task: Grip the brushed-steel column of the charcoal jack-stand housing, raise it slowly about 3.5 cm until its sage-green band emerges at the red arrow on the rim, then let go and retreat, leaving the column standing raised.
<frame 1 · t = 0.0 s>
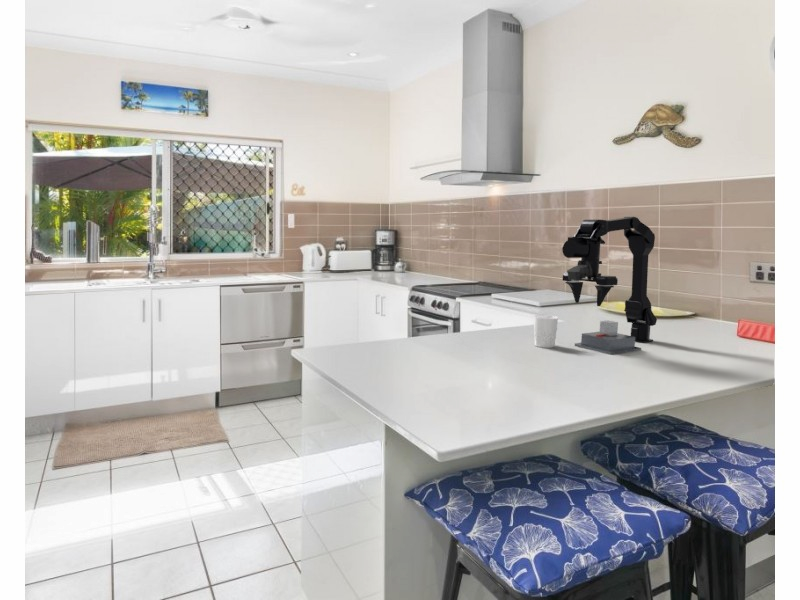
hand: (587, 304, 189), 15 cm above the table, fingers open, 9 cm apart
column: (608, 333, 190), point 5 cm above the table, slide at 0.0 cm
white cup: (544, 346, 192), on the table
housing: (607, 348, 190), on the table
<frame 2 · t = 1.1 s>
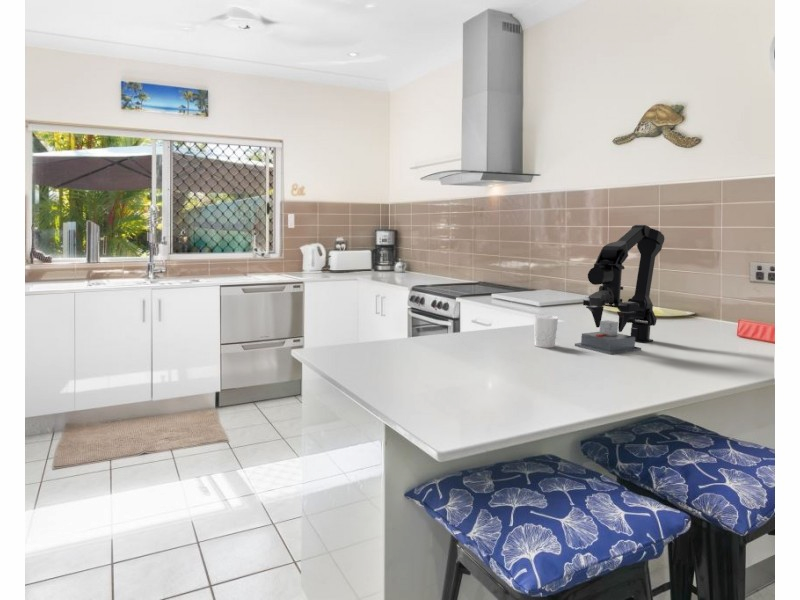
hand: (608, 329, 190), 6 cm above the table, fingers open, 9 cm apart
nothing on the table moved.
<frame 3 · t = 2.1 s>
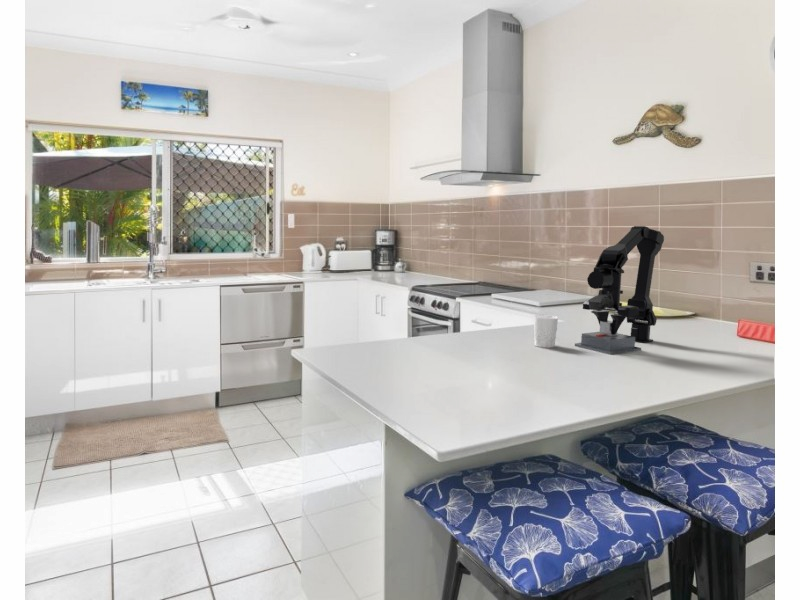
hand: (608, 333, 190), 5 cm above the table, fingers closed on column, 4 cm apart
column: (608, 333, 190), point 5 cm above the table, slide at 0.0 cm, touching gripper
everything else where it was.
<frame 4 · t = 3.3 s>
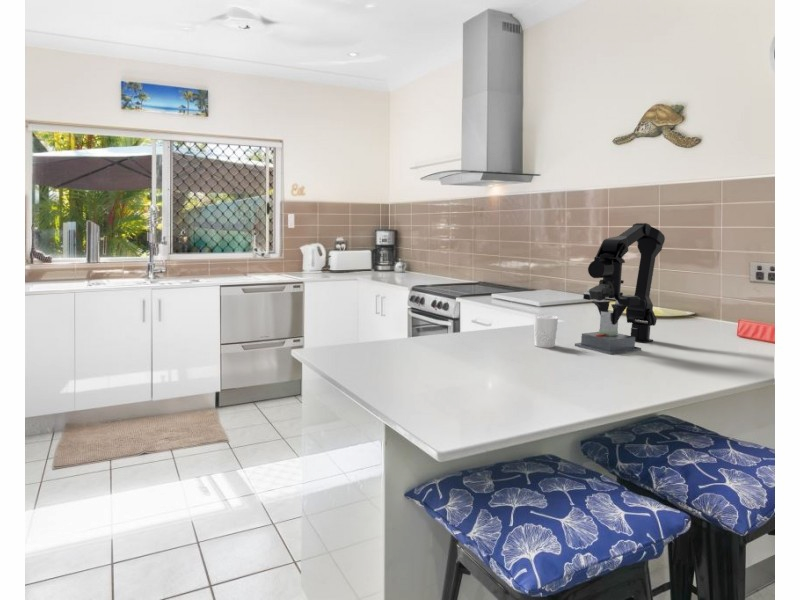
hand: (609, 323, 189), 8 cm above the table, fingers closed on column, 4 cm apart
column: (609, 323, 189), point 8 cm above the table, slide at 3.4 cm, touching gripper
everything else where it was.
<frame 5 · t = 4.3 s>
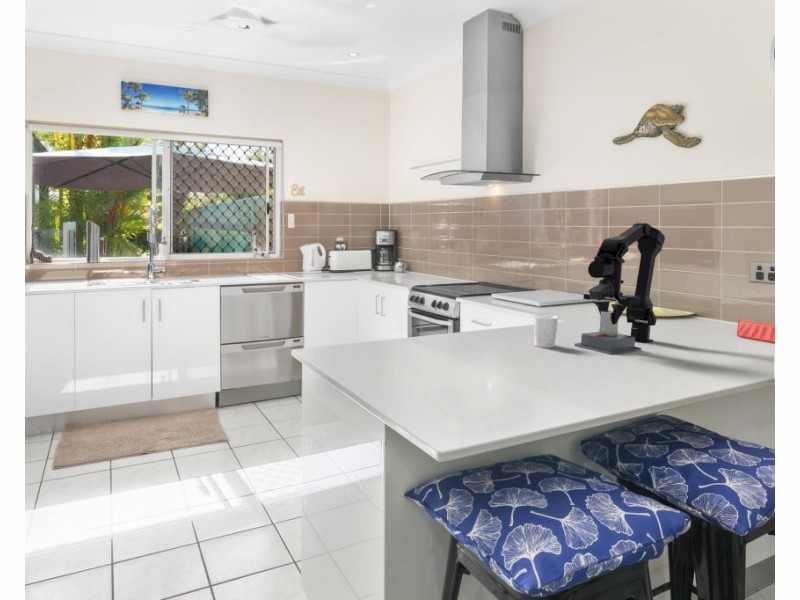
hand: (609, 323, 189), 8 cm above the table, fingers closed on column, 4 cm apart
column: (609, 323, 189), point 8 cm above the table, slide at 3.4 cm, touching gripper
everything else where it was.
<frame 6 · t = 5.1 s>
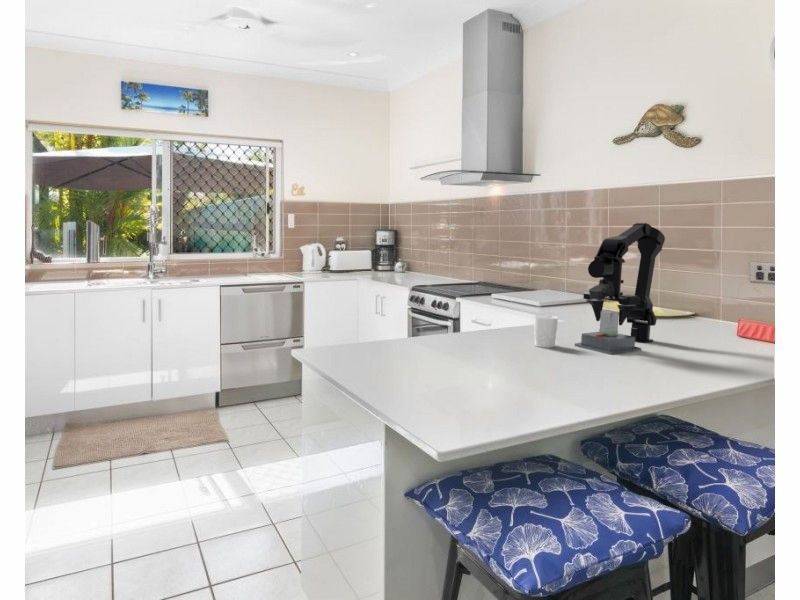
hand: (609, 323, 189), 9 cm above the table, fingers open, 9 cm apart
column: (609, 323, 189), point 8 cm above the table, slide at 3.4 cm
everything else where it was.
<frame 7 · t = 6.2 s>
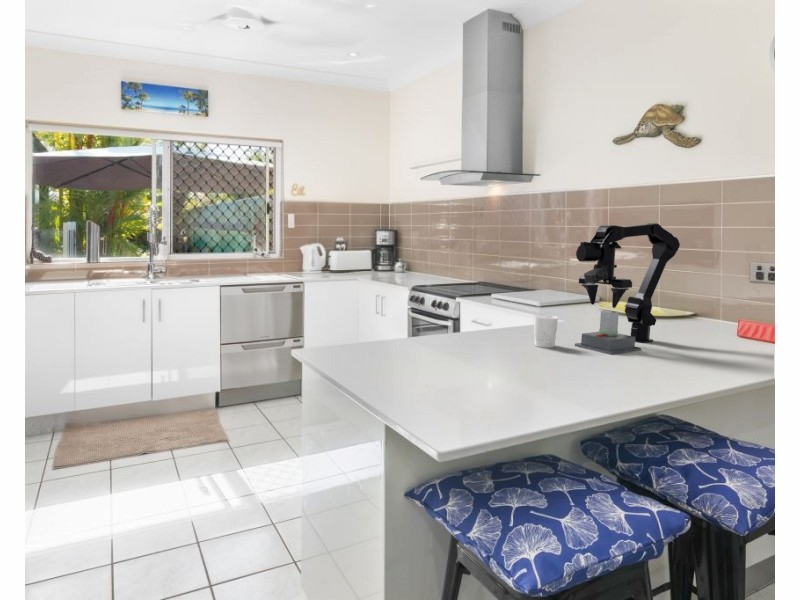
hand: (603, 306, 199), 13 cm above the table, fingers open, 9 cm apart
nothing on the table moved.
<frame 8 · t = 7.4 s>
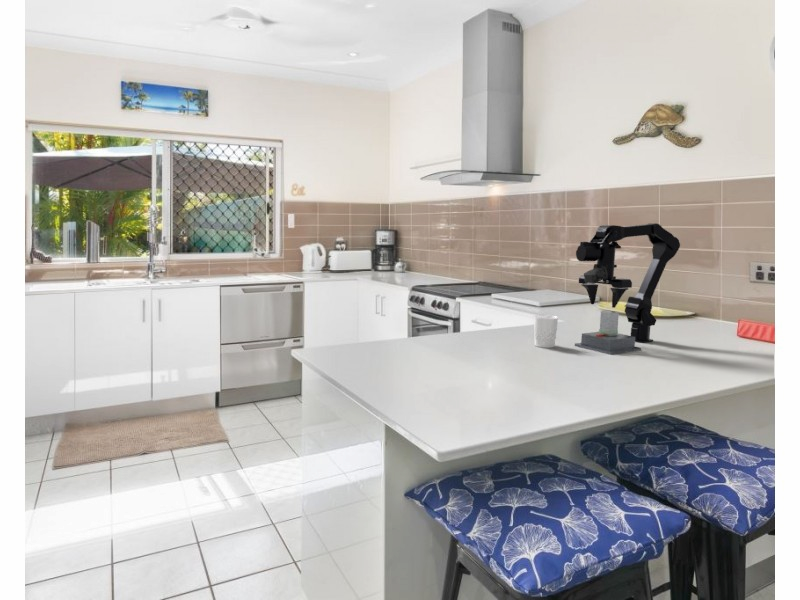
hand: (602, 305, 199), 13 cm above the table, fingers open, 9 cm apart
nothing on the table moved.
at the end: column slide at 3.4 cm; the gripper is holding nothing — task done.
